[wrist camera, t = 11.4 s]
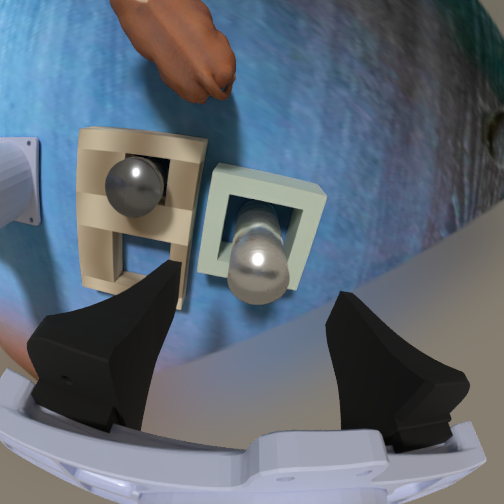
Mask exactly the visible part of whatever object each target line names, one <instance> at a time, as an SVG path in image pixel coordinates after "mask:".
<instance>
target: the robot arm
mask: <svg viewBox="0 0 504 504" xmlns="http://www.w3.org/2000/svg"><path fill="white" fill-rule="evenodd" d="M30 142H31V145H30ZM38 164H39V140H38V138H37V137H0V229H1V228H3V227H4V226H6V225H7V224H9V223H10V222H11V221H17V222H22V223H26V224H30V225H35V226H37V225H39V224H40V222H41V217H40V203H39V173H38ZM32 219H33V220H32ZM181 267H182V262H178V261H173V260H167V261H166V262H164V263H163V264H162V265H160V266H159V267H158V268H157V269H155V270H154V271H153V272H151V273H150V274H149V275H147V276H146V277H145V278H143V279H142V280H140V281H139V282H138V283H136V284H134V285H133V286H131V287H130V288H128V289H127V290H125V291H123V292H121V293H119V294H117V295H115V296H113V297H111V298H109V299H107V300H104V301H102V302H99V303H97V304H94V305H91V306H88V307H85V308H82V309H78V310H75V311H71V312H66V313H61V314H55V315H49V316H46V317H45V318H44V320H43V321H42V322H41V323H40V325H39V326H38V327H37V329H36V330H35V332H34V333H33V334H32V336H31V337H30V339H29V340H28V342H27V351H28V354H29V357H30V359H31V362H32V364H33V366H34V368H35V370H36V372H37V374H38V376H39V378H40V379H39V380H38V382H37V384H36V385H35V384H34V383H33V382H32V381H31V380H29V379H27V378H26V377H24V376H22V375H20V374H18V373H16V372H14V371H12V370H10V369H6V370H5V372H4V374H3V375H2V377H1V378H0V441H1V442H2V443H3V444H4V445H5V446H6V447H7V448H8V449H10V450H11V451H13V452H14V453H16V454H18V455H19V456H21V457H23V458H24V459H26V460H28V461H30V462H31V463H33V464H35V465H36V466H38V467H40V468H42V469H44V470H46V471H47V472H49V473H51V474H53V475H55V476H57V477H59V478H61V479H63V480H65V481H67V482H69V483H71V484H73V485H75V486H77V487H80V488H82V489H84V490H86V491H89V492H91V493H94V494H96V495H98V496H101V497H103V498H106V499H109V500H111V501H114V502H117V503H120V504H403V503H406V502H409V501H412V500H414V499H417V498H420V497H422V496H425V495H428V494H430V493H433V492H435V491H438V490H440V489H443V488H445V487H447V486H450V485H452V484H454V483H455V482H457V481H458V480H460V479H461V478H463V477H464V476H466V475H467V474H469V473H471V472H472V471H474V470H475V469H476V468H478V467H479V466H481V465H482V464H483V463H485V462H486V457H485V455H484V452H483V449H482V447H481V444H480V442H479V440H478V437H477V435H476V433H475V430H474V428H473V426H472V424H471V422H470V421H467V422H463V423H460V424H456V425H454V426H452V427H450V426H449V424H448V422H450V421H451V416H450V414H449V413H450V412H451V411H452V410H453V409H454V408H455V407H456V406H457V405H458V404H459V403H460V402H461V401H462V400H463V399H464V398H465V396H466V395H467V393H468V391H469V388H470V383H469V381H468V380H467V378H466V376H465V374H464V373H463V372H461V371H459V370H456V369H454V368H452V367H449V366H447V365H444V364H442V363H440V362H438V361H437V360H434V359H433V358H431V357H429V356H427V355H426V354H424V353H422V352H421V351H419V350H418V349H416V348H415V347H413V346H412V345H410V344H409V343H408V342H406V341H405V340H404V339H402V338H401V337H400V336H399V335H397V334H396V333H395V332H394V331H393V330H391V329H390V328H389V327H388V326H387V325H386V324H385V323H384V322H383V321H381V319H380V318H379V317H377V316H376V315H375V314H374V313H373V312H372V311H371V310H370V309H369V308H368V307H367V306H366V305H365V304H364V303H363V302H362V301H361V300H360V299H359V298H357V297H356V296H355V295H354V294H353V293H349V292H343V291H340V293H339V296H338V298H337V300H336V302H335V305H334V307H333V309H332V311H331V314H330V316H329V318H328V320H327V322H326V324H325V326H326V337H327V344H328V348H329V352H330V356H331V360H332V364H333V368H334V372H335V376H336V379H337V384H338V391H339V400H340V412H341V430H287V431H286V430H285V431H275V432H272V433H268V434H264V435H261V436H260V437H259V438H257V439H256V440H255V441H254V442H252V443H251V444H250V445H249V447H248V449H247V450H243V449H233V448H225V447H217V446H209V445H203V444H197V443H191V442H186V441H180V440H176V439H171V438H166V437H161V436H157V435H153V434H149V433H145V432H141V426H142V420H143V415H144V410H145V405H146V400H147V396H148V391H149V387H150V383H151V379H152V375H153V371H154V367H155V364H156V361H157V358H158V355H159V353H160V350H161V348H162V345H163V343H164V340H165V338H166V335H167V333H168V330H169V328H170V326H171V323H172V321H173V318H174V314H175V311H176V307H177V303H178V299H179V288H180V277H181Z"/></svg>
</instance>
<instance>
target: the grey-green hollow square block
mask: <svg viewBox="0 0 504 504" xmlns="http://www.w3.org/2000/svg"><path fill="white" fill-rule="evenodd" d="M230 194H231V195H236V196H241V197H246V198H251V199H256V200H261V201H265V202H270V203H275V204H279V205H284V206H288V207H293V212H292V216H291V219H290V223H289V226H288V230H287V233H286V237H285V240H284V244H283V245H284V250H285V255H286V260H287V265H288V270H289V276H290V281H289V285H288V288H287V289H291V290H297V287H298V284H299V281H300V278H301V275H302V272H303V269H304V267H305V264H306V261H307V258H308V255H309V252H310V249H311V246H312V243H313V240H314V237H315V234H316V230H317V227H318V224H319V221H320V218H321V215H322V212H323V208H324V205H325V202H326V199H327V195H326V194H325V193H324V192H323V190H322V189H321V188H320V187H319V185H318V184H315V183H311V182H307V181H303V180H299V179H295V178H290V177H286V176H282V175H277V174H273V173H269V172H264V171H259V170H255V169H250V168H245V167H240V166H235V165H230V164H224V163H218V165H217V166H216V167H215V169H214V170H213V174H212V179H211V185H210V191H209V196H208V202H207V208H206V215H205V221H204V227H203V234H202V240H201V247H200V254H199V261H198V268H197V272H199V273H204V274H210V275H215V276H220V277H225V278H227V276H228V269H229V263H230V256H231V249H232V243H230V242H224V241H221V240H222V235H223V230H224V224H225V219H226V214H227V209H228V204H229V199H230Z"/></svg>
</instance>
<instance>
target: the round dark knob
mask: <svg viewBox="0 0 504 504" xmlns="http://www.w3.org/2000/svg"><path fill="white" fill-rule="evenodd" d="M168 175H169V169H168V166H167V165H166V163H165V162H164V161H163V160H161V159H160V158H157V157H150V158H147V159H146V158H143V157H136V156H135V157H129V158H126V159H124V160H122V161H120V162H118V163H116V164H115V165H114V166H113V167H112V168H111V169H110V171H109V172H108V174H107V177H106V181H105V192H106V196H107V199H108V201H109V203H110V204H111V206H112V207H113V208H114V209H115V210H116V211H117V212H118V213H120V214H122V215H124V216H126V217H131V218H137V217H142V216H144V215H147V214H148V213H150V212H151V211H152V210H153V209H154V208H155V207H156V205H157V204H158V203H159V201H160V200H161V198H162V195H163V190H164V185H165V184H166V183H167V181H168Z"/></svg>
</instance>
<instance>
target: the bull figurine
mask: <svg viewBox="0 0 504 504" xmlns="http://www.w3.org/2000/svg"><path fill="white" fill-rule="evenodd" d="M110 4H111V6H112V8H113V10H114V12H115V14H116V15H117V17H118V19H119V22H120V24H121V27H122V29H123V30H124V32H125V34H126V35H127V37H128V38H129V40H130V41H131V43H132V45H133V47H134V48H135V49H136V51H137V52H138V53H140V54H141V55H142V56H143V57H144V58H146V59H147V60H149V61H151V62H153V63H155V64H156V66H157V68H158V71H159V74H160V77H161V79H162V80H163V82H164V83H165V84H166V85H167V86H168V87H170V88H171V89H172V90H174V91H175V92H176V93H177V94H178V95H179V96H180V97H181V98H183V99H185V100H187V101H189V102H191V103H201V104H205V103H206V99H208V98H209V97H210V95H211V96H213V97H214V98H216V99H219V100H226V99H228V97H229V96H230V94H231V90H232V85H233V82H234V81H235V79H236V74H235V72H236V59H235V55H234V52H233V51H232V49H231V47H230V44H229V41H228V39H227V38H226V36H225V35H224V34H223V33H222V32H220V31H218V30H217V29H216V28H215V26H214V24H213V20H212V16H211V13H210V11H209V9H208V7H207V6H206V5H205V4H204V3H203V2H202V1H201V0H110ZM225 86H226V87H225ZM224 87H225V89H224V91H222V90H221V89H222V88H224Z"/></svg>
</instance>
